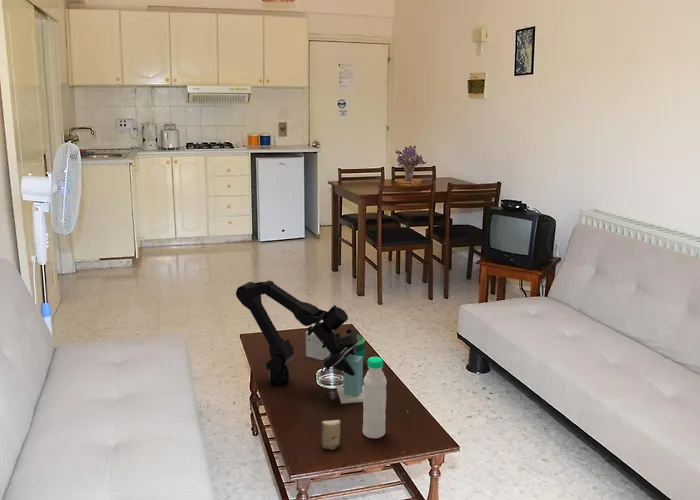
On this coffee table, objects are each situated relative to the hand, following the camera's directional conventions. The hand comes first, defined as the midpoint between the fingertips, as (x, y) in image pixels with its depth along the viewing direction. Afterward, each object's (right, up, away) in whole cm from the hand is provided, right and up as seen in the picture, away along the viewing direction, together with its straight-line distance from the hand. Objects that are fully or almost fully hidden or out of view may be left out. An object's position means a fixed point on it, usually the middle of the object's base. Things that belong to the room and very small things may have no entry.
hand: (357, 371), depth 221 cm
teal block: (-1, -8, +2) cm, 8 cm away
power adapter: (-8, -17, -29) cm, 34 cm away
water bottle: (+5, -15, -22) cm, 27 cm away
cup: (-1, -3, +27) cm, 28 cm away
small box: (-15, -1, +36) cm, 39 cm away
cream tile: (-1, -9, +3) cm, 9 cm away
